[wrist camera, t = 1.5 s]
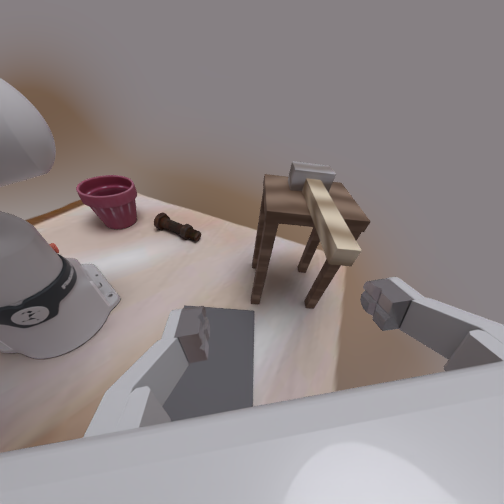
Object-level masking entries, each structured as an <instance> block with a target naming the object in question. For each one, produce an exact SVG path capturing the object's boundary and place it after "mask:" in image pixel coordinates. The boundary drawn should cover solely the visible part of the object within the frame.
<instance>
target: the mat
mask: <svg viewBox="0 0 504 504" xmlns="http://www.w3.org/2000/svg"><path fill="white" fill-rule="evenodd" d="M191 307H197V306H184V308H191ZM205 309H206V317H207V318H208V319H209V324H210V338H209V339H208V341H207V342H208V345H209V351H208V360H204V361H199V362H194V363H189V365H188V367H187V369H186V370H185V372H184V373H183V375H182V376H181V378H180V379H179V381H178V383H177V384H176V386H175V387H174V389H173V390H172V392H171V394H170V395H169V397H168V398H167V400H166V401H165V403H164V404H163V406H162V407H163V408H164V410H165V411H166V413H167V414H168V416H169V417H170V419H171V422H172V421H177V420H183V419H188V418H194V417H199V416H205V415H210V414H216V413H221V412H227V411H232V410H237V409H243V408H248V407H253V357H254V311H250V310H237V309H223V308H210V307H205Z"/></svg>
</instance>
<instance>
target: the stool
mask: <svg viewBox="0 0 504 504" xmlns="http://www.w3.org/2000/svg"><path fill="white" fill-rule="evenodd" d="M263 186H264V187H263V188H264V189H263V196H262V202H261V209H260V216H259V223H258V229H257V235H256V242H255V249H254V255H253V262H252V268H256V272H255V278H254V284H253V289H252V295H251V304H259V303H260V299H261V295H262V290H263V286H264V282H265V278H266V274H267V270H268V265H269V261H270V257H271V253H272V249H273V244H274V240H275V236H276V232H277V228H278V224H290V225H299V226H309V227H313V230H312V232H311V235H310V237H309V240H308V242H307V245H306V247H305V250H304V252H303V255H302V257H301V260H300V262H299V265H298V271H299V272H304V273H305V272H306V270H307V268H308V266H309V264H310V261H311V259H312V257H313V255H314V253H315V250H316V248H317V246H318V244H319V242H320V239H319V236H318V233H317V231H316V228H315V225H314V222H313V220H312V217H311V214H310V211H309V209H308V206H307V203H306V200H305V198H304V195H303V192H302V191H295V190H290V187H289V184H288V177H285V176H275V175H267V174H265V176H264V182H263ZM329 195H330V197H331V198H332V200H333V202H334V204H335V205H336V207H337V209H338V211H339V212H340V214H341V216H342V217H343V219H344V221H345V223H346V224H347V226H348V228H349V230H350V231H351V233H352V235H353V237H354V238H355V240H357V239H358V237H359V235H360V234H361V232H364V231H365V229H366V228H367V226H368V225H369V223H370V220H369V219H368V218H367V217H366V215H365V214H364V212H363V211H362V210H361V208H360V207H359V206H358V204H357V203H356V202H355V200H354V199H353V198H352V196H351V195H350V194H349V192H348V191H347V190H346V188H345V187H344V186H343V184H342V183H338V182H333V183H332V185H331V188H330V190H329ZM340 266H341V265H332V264H329V263H328V261H327V259H326V261H325V263H324V265H323V267H322V269H321V271H320V273H319V274H318V276H317V278H316V280H315V282H314V284H313V286H312V288H311V289H310V291H309V293H308V295H307V297H306V299H305V306H306V308H314V307H315V306H316V304H317V303H318V301H319V299H320V298H321V296H322V295H323V293H324V291H325V290H326V288H327V287H328V285H329V283H330V282H331V280H332V279H333V277H334V275H335V274H336V272H337V271H338V269H339V267H340Z"/></svg>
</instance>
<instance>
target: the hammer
mask: <svg viewBox="0 0 504 504" xmlns="http://www.w3.org/2000/svg"><path fill="white" fill-rule="evenodd" d="M335 175H336V174H335V172H334V171H333V170H332V169H331V167H330V166H326V165H317V164H309V163H300V162H292V165H291V169H290V173H289V177H288V184H289V187H290V190H295V191H302V192H303V195H304V198H305V200H306V203H307V206H308V209H309V211H310V214H311V217H312V220H313V222H314V225H315V228H316V231H317V233H318V236H319V239H320V242H321V244H322V247H323V250H324V252H325V255H326V258H327V261H328V263H329V264H332V265H343V266H352V264H353V263H354V261H355V260H356V259H357V257H358V256H359V254H360V253H361V249H360V247H359V245H358V243H357V242H356V240H355V238H354V237H353V235H352V233H351V231H350V230H349V228H348V226H347V224H346V223H345V221H344V219H343V217H342V216H341V214H340V212H339V211H338V209H337V207H336V205H335V204H334V202H333V200H332V198H331V197H330V195H329V190H330V188H331V185H332V183H333V180H334V178H335Z"/></svg>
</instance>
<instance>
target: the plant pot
mask: <svg viewBox="0 0 504 504" xmlns="http://www.w3.org/2000/svg"><path fill="white" fill-rule="evenodd" d="M76 190H77V192H78V194H79V197H80V198H81V200H82V202H83V203H84V204H85V205H87V206H90V207H91V209H92V210H93V211H94V212H95V213H96V215H97V216H98V217H99V218H100V219H101V220H102V221H103V222H104V224H105V225H106V226H107V227H109V228H111V229H123V228H127V227H130V226H132V225H133V224H134V223H135V222H136V220H137V216H136V203H135V198H136V197H137V192H136V189H135V186H134V183H133V181H132V180H131V179H129V178H127V177H123V176H116V175H106V176H98V177H93V178H90V179H87V180H84V181H82V182H81V183H79V184H78V186H77V187H76Z"/></svg>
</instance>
